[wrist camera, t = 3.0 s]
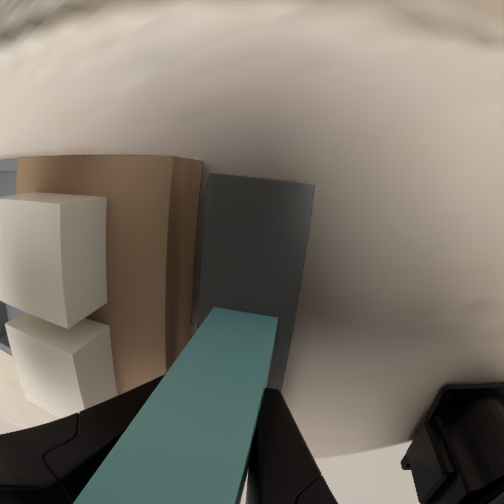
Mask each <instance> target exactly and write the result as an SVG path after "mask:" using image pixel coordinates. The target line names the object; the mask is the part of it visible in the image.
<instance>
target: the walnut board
mask: <svg viewBox="0 0 504 504" xmlns="http://www.w3.org/2000/svg"><path fill="white" fill-rule="evenodd" d="M201 171H202V161H199V160H193V159H186V158H180V157H174V156H150V155H63V156H40V157H23V158H18V165H17V186H16V195H18V194H25V193H33V192H41V193H57V194H72V195H86V196H99V197H107V205H106V283H107V303H106V304H105V305H103V306H102V307H100V308H99V309H97V310H96V311H94V312H93V313H91V314H90V315H88V316H87V317H85V318H86V319H89V320H93V321H96V322H99V323H102V324H106V325H109V329H110V340H111V349H112V358H113V366H114V373H115V380H116V387H117V393H118V395H120V394H122V393H125V392H127V391H129V390H131V389H134V388H136V387H138V386H140V385H143V384H145V383H147V382H149V381H151V380H153V379H156V378H158V377H160V376H162V375H164V374H166V373H167V372H168V370H169V369H170V368H171V366H172V365H173V363H174V362H175V361H176V359H177V358H178V356H179V355H180V354H181V352H182V351H183V349H184V348H185V347H186V345H187V344H188V342H189V341H190V340H191V314H192V291H193V273H194V256H195V241H196V228H197V215H198V203H199V192H200V181H201Z"/></svg>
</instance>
